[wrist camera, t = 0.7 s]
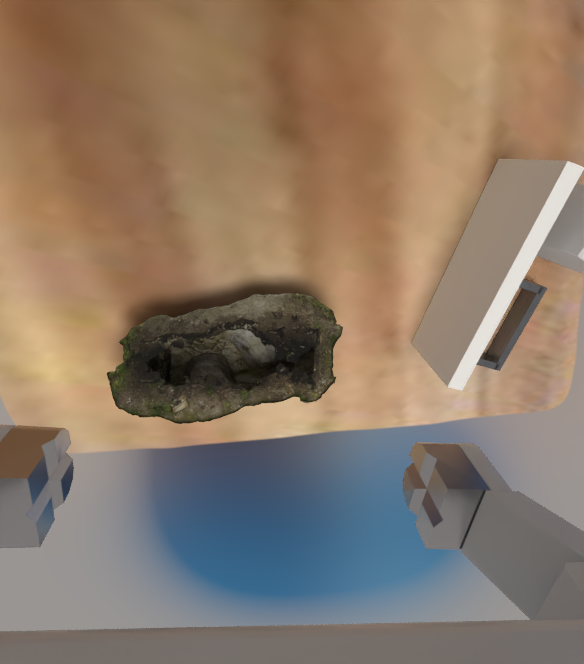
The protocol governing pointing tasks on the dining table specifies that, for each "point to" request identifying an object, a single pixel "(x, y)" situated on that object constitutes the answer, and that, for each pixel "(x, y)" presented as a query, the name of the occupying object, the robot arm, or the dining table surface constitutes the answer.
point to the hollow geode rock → (227, 358)
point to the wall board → (491, 262)
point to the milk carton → (567, 234)
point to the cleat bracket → (513, 325)
